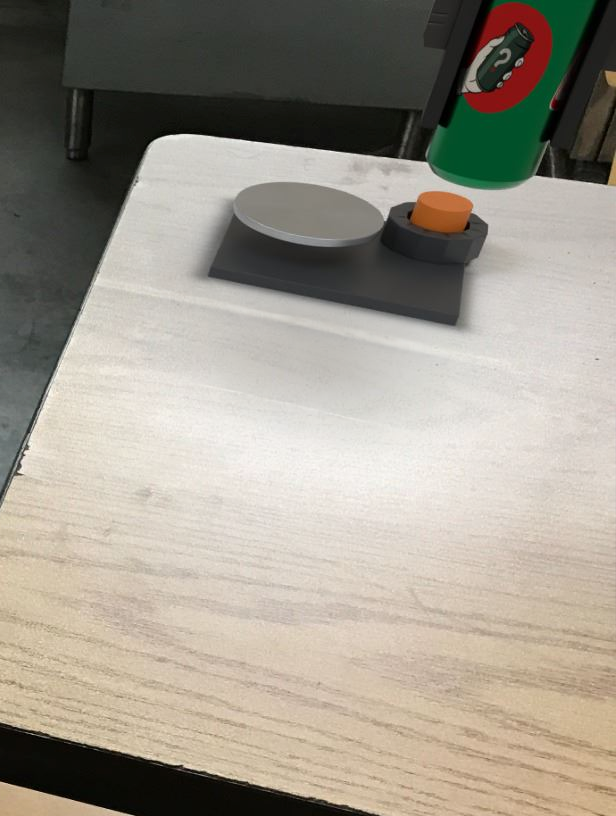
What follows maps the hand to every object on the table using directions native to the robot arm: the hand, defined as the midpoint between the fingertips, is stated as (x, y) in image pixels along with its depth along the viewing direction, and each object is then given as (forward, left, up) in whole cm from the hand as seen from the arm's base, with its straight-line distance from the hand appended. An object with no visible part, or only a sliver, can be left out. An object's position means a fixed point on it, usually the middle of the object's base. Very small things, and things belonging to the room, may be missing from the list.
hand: (493, 127), depth 66 cm
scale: (+4, -26, -19) cm, 32 cm away
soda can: (0, 0, -2) cm, 2 cm away
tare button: (-1, -30, -16) cm, 34 cm away
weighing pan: (+7, -26, -15) cm, 31 cm away
